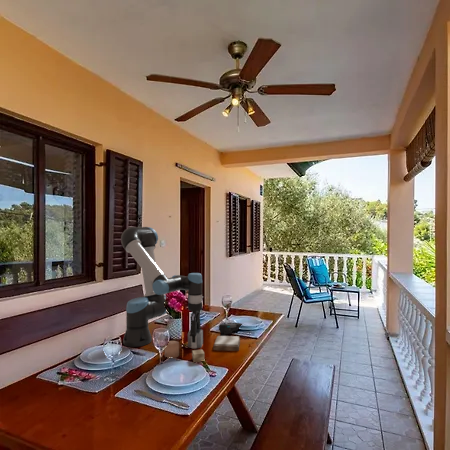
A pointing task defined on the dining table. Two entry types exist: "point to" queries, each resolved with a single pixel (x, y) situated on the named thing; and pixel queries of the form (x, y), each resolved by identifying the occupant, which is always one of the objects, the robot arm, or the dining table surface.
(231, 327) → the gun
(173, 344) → the brown rounded block
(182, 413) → the dining table surface
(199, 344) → the housing
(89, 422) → the dining table surface
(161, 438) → the dining table surface
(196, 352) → the beech block
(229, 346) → the stand
